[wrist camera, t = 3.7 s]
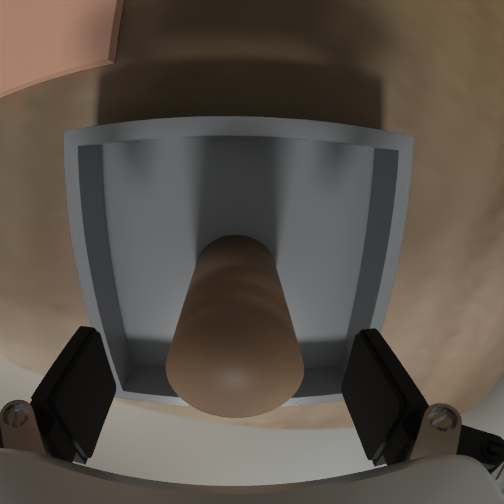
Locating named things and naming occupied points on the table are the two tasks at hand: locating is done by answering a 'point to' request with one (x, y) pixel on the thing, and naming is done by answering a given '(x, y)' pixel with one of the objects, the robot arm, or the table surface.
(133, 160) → the bin
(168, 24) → the table surface
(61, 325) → the table surface
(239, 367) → the walnut peg
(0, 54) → the terracotta board
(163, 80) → the table surface
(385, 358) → the robot arm
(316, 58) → the table surface
